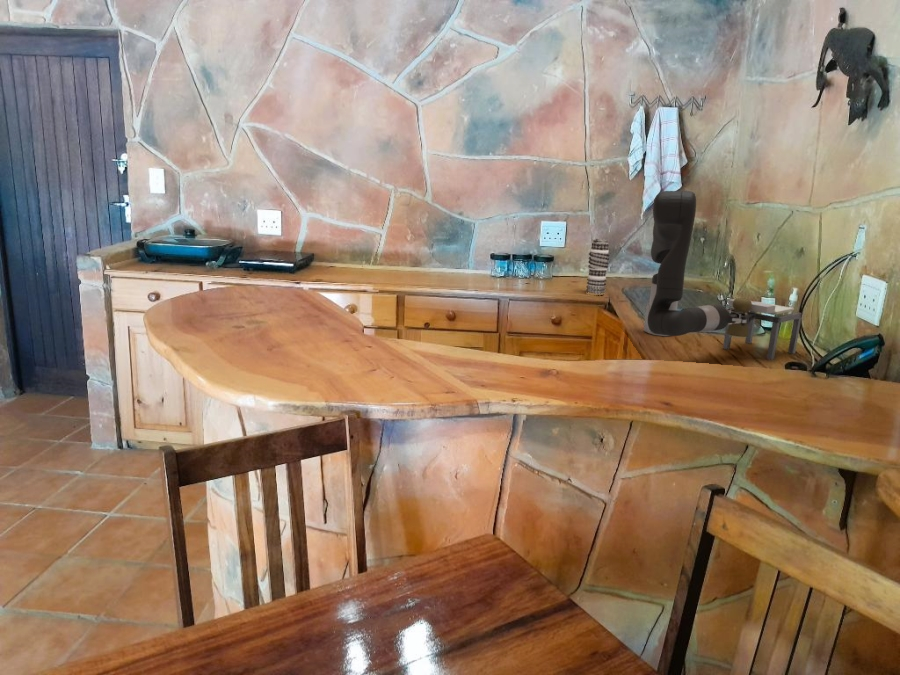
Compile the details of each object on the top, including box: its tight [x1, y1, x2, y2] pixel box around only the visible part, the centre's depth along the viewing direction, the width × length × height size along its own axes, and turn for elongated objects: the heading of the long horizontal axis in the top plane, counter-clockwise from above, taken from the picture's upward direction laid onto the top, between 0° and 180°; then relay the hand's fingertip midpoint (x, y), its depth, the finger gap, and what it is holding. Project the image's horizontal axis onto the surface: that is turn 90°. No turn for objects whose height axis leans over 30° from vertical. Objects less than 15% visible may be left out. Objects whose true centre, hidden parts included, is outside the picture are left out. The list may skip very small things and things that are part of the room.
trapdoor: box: [727, 298, 795, 316], centre depth 200 cm, size 12×18×3 cm, turn 129°
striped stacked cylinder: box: [585, 238, 610, 294], centre depth 292 cm, size 9×9×25 cm
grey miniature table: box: [722, 307, 803, 361], centre depth 204 cm, size 16×16×13 cm
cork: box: [727, 297, 752, 338], centre depth 194 cm, size 6×6×11 cm
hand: (747, 314), depth 195 cm, fingers closed on cork, 3 cm apart
